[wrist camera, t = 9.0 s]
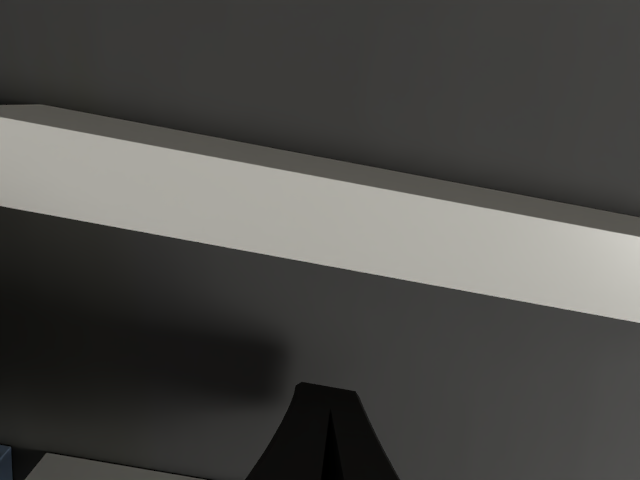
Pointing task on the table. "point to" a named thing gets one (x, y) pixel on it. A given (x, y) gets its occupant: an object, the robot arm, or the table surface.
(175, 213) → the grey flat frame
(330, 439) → the robot arm
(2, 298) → the table surface
